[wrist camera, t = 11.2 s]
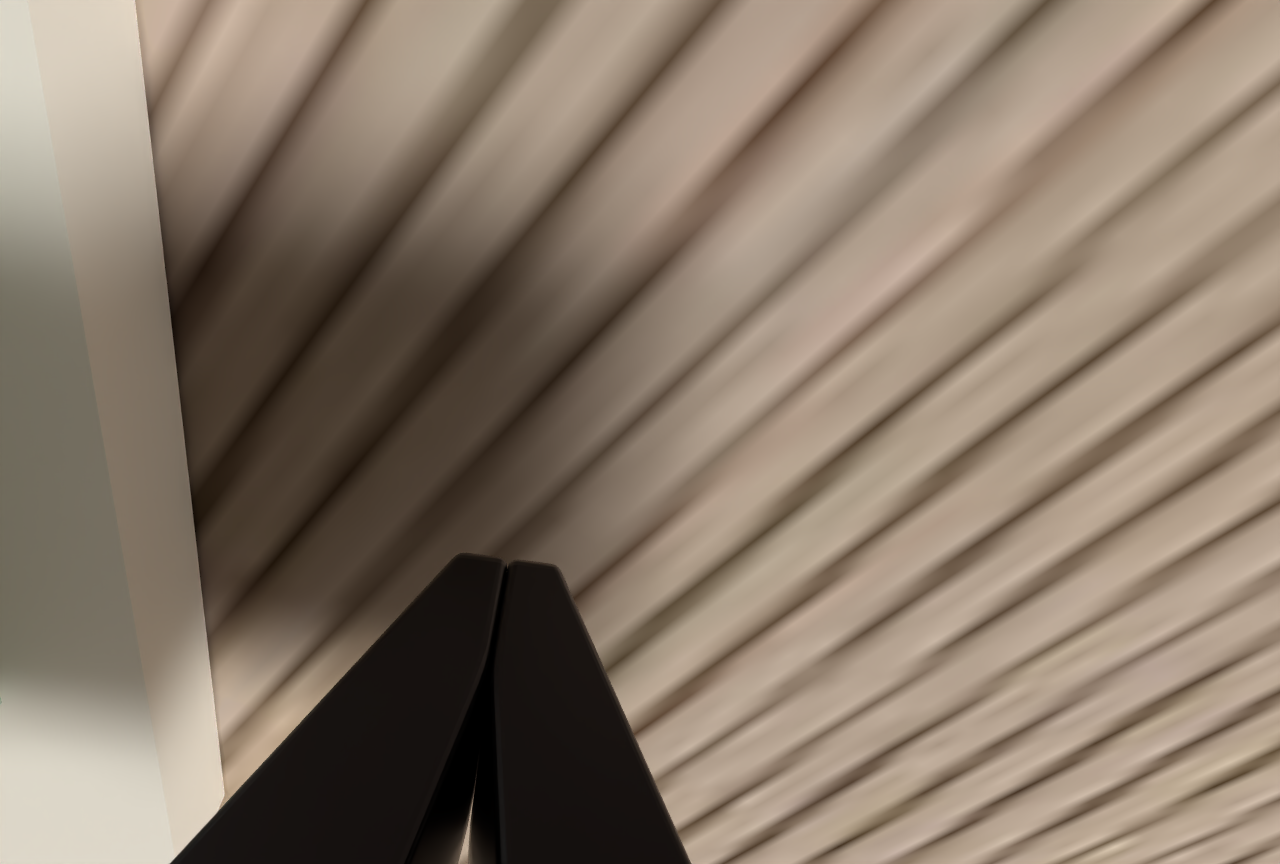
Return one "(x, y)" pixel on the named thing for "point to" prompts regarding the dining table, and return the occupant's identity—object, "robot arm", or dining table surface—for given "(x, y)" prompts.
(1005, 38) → the dining table surface
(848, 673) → the dining table surface
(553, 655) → the robot arm
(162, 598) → the board
